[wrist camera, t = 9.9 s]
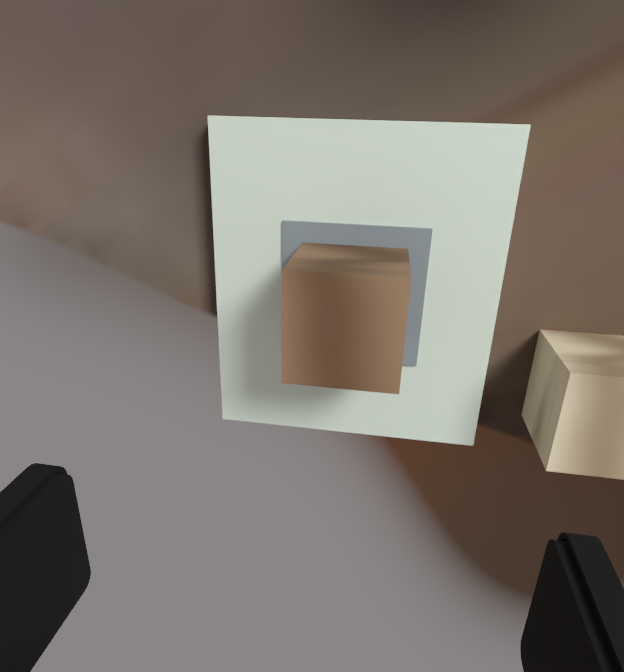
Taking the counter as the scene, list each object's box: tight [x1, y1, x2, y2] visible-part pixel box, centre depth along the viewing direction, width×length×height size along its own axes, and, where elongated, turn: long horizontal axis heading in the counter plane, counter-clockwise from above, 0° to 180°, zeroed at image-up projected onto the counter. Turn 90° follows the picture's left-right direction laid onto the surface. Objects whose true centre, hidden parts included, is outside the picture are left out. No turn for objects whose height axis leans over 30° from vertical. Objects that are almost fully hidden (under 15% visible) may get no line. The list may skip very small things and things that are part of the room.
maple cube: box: [521, 330, 624, 479], centre depth 24 cm, size 5×5×5 cm
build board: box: [208, 116, 531, 446], centre depth 26 cm, size 14×16×1 cm
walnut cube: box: [281, 243, 411, 394], centre depth 23 cm, size 5×5×5 cm
